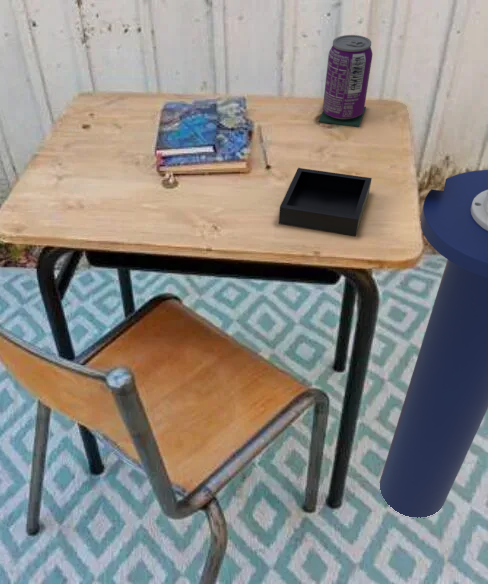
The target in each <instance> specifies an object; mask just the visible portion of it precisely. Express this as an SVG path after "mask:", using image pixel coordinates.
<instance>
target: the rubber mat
mask: <svg viewBox="0 0 488 584" xmlns="http://www.w3.org/2000/svg"><path fill="white" fill-rule="evenodd" d="M366 110H367V106H365V107H364V112H363V113H362V114H361V115H359V116H357V117H354V118H352V119H347V120H341V119H335V118H333V117H331V116H329V115H327V114H326V113H325V112H324V111H323V110H322V112H321V115H320V117H319V119H318V123H324V124H330V125H339V126H347V127H348V126H349V127H356V128H359V127H360V125H361V122H362V121H363V117H364V114H365V112H366Z"/></svg>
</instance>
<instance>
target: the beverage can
mask: <svg viewBox="0 0 488 584" xmlns="http://www.w3.org/2000/svg"><path fill="white" fill-rule="evenodd" d="M371 46H372V40H371V39H370V38H368V37H366V36H363V35H358V34H344V35H340V36H338V37H335V38H333V40H332V46H331V47H330V49H329V51H328V57H327V66H326V73H325V74H326V75H325V82H324V83H325V84H324V93H323V101H322V102H323V103H322V112H323V111H324V112H325V113H326V114H327V115H329V116H331V117H333V118H335V119H341V120H347V119H352V118H354V117H357V116H359V115H361V114H362V113H363V112H364V107H366V99H367V93H368V86H369V80H370V74H371V69H372V68H371V67H372V61H373V50H372V47H371ZM364 113H365V112H364Z"/></svg>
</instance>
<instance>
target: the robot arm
mask: <svg viewBox="0 0 488 584" xmlns="http://www.w3.org/2000/svg"><path fill="white" fill-rule="evenodd" d="M471 215H472V217H473V219H474V220H475V221H476V222H477V224H478V225H480V226H481V227H482V228H483V229H485V230H487V231H488V190H486V191H483V192H481V193H480V194H478V195H477V196H476V197H475V198H474V200H473V202H472V205H471Z"/></svg>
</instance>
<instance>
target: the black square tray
mask: <svg viewBox="0 0 488 584" xmlns="http://www.w3.org/2000/svg"><path fill="white" fill-rule="evenodd" d="M372 178H373V177H368V176H360V175H353V174H346V173H339V172H333V171H332V172H331V171H324V170H316V169H310V168H303V167H298V168H297V169H296V171H295V174H293V177H292V180H291V182H290V184H289V186H288V189H287V191H286V192H285V194H284V197H283V199H282V201H281V203H280V206H279V213H278V224H279V225H284V226H290V227H296V228H302V229H309V230H315V231H321V232H327V233H331V234H339V235H344V236H351V237H356V236H357V233H358V231H359V228H360V225H361V221H362V218H363V215H364V212H365V208H366V205H367V202H368V199H369V196H370V191H371V186H372V185H371V184H372V180H373V179H372Z"/></svg>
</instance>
